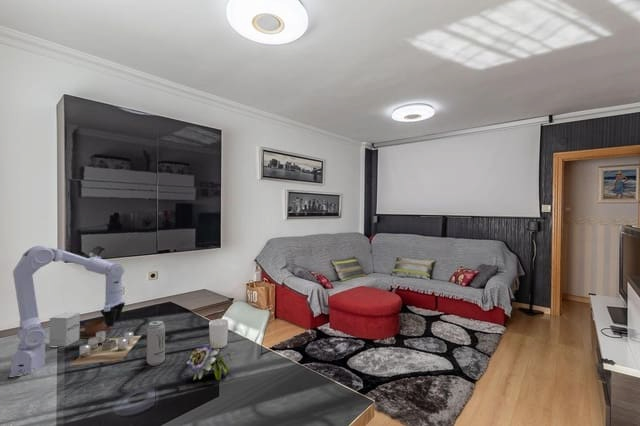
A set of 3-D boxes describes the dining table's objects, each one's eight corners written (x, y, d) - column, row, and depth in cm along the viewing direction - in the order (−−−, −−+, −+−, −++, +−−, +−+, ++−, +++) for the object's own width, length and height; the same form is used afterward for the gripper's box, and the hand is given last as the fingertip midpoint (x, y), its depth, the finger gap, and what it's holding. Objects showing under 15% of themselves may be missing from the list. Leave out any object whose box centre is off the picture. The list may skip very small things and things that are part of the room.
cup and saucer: (83, 343, 132) (83, 329, 132) (74, 336, 140) (74, 323, 140) (114, 334, 142) (114, 321, 142) (105, 328, 149) (105, 316, 149)
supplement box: (65, 348, 127) (66, 317, 127) (48, 348, 127) (48, 317, 127) (80, 340, 135) (80, 312, 135) (63, 340, 135) (64, 312, 135)
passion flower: (196, 397, 104) (176, 362, 106) (223, 374, 114) (204, 342, 116) (214, 386, 97) (193, 349, 99) (241, 363, 108) (221, 330, 110)
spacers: (123, 353, 120) (123, 343, 120) (77, 358, 116) (77, 348, 116) (137, 336, 137) (137, 327, 137) (97, 340, 133) (97, 331, 133)
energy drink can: (157, 367, 111) (157, 326, 112) (142, 365, 113) (143, 325, 113) (168, 359, 117) (168, 320, 117) (154, 358, 119) (155, 319, 119)
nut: (118, 344, 129) (118, 339, 129) (114, 349, 124) (114, 343, 124) (104, 346, 127) (104, 340, 127) (99, 350, 123) (99, 345, 123)
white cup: (231, 341, 134) (231, 319, 134) (223, 349, 126) (223, 325, 126) (213, 341, 135) (214, 318, 135) (205, 348, 127) (205, 324, 127)
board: (122, 361, 116) (122, 359, 116) (69, 367, 111) (69, 365, 111) (141, 337, 139) (141, 335, 139) (98, 341, 134) (98, 339, 134)
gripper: (117, 295, 124) (117, 328, 124) (129, 287, 138) (129, 316, 138) (97, 296, 122) (97, 330, 122) (112, 287, 136) (112, 318, 136)
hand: (113, 323), depth 130 cm, fingers open, 6 cm apart
